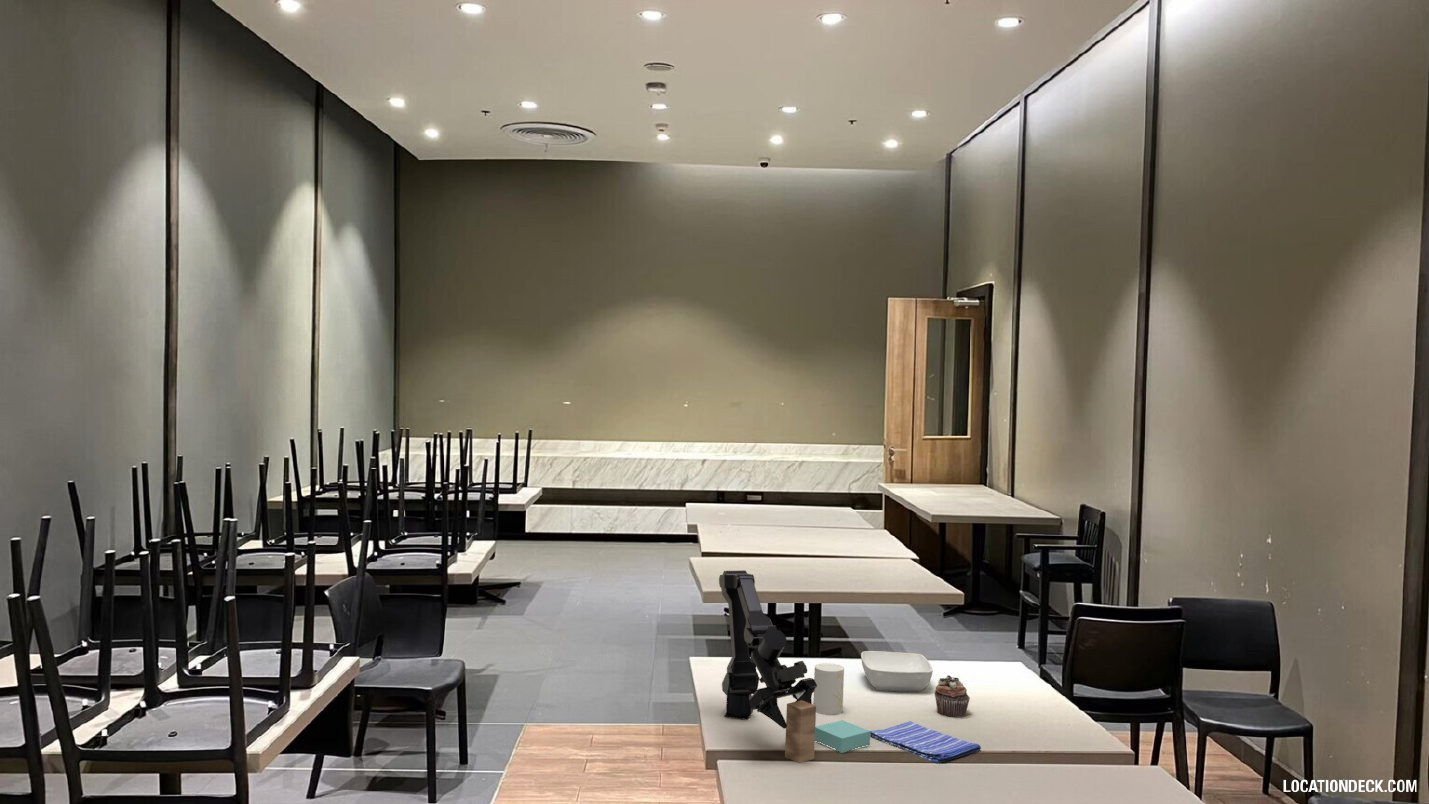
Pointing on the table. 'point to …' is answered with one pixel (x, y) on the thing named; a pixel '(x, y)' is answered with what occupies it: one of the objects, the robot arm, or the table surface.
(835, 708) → the cup
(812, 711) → the walnut pillar
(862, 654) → the square bowl
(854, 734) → the teal plinth
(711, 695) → the table surface
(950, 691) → the cupcake
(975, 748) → the dish towel
